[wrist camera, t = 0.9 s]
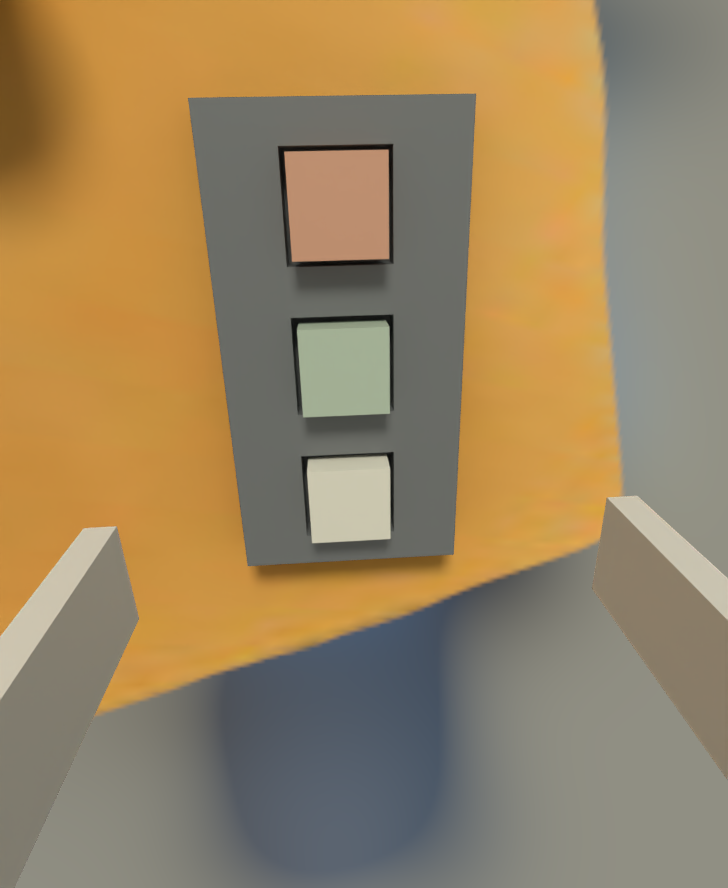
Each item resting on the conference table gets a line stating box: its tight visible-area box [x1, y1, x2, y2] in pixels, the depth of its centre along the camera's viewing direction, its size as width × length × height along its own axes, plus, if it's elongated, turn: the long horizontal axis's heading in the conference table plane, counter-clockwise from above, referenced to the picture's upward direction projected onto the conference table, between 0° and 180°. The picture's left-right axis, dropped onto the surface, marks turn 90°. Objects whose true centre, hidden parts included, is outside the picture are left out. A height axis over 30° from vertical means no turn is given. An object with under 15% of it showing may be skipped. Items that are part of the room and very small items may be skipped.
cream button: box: [307, 454, 390, 543], centre depth 35 cm, size 5×5×2 cm
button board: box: [188, 94, 476, 566], centre depth 33 cm, size 14×27×2 cm, turn 1°
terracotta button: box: [284, 150, 389, 262], centre depth 28 cm, size 5×5×2 cm
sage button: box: [297, 320, 390, 417], centre depth 31 cm, size 5×5×2 cm
